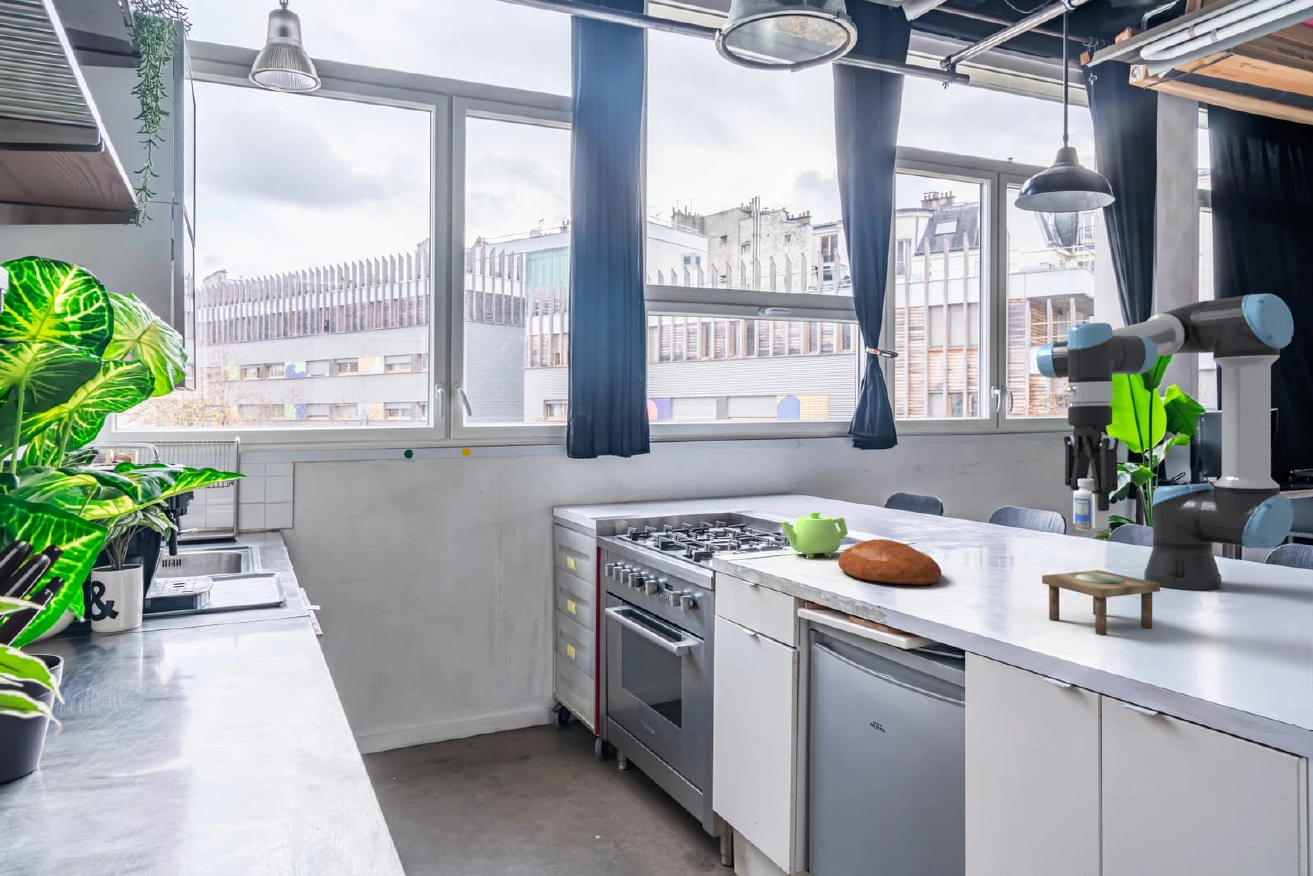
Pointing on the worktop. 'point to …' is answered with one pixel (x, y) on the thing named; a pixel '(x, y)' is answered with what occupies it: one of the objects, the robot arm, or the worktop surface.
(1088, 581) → the small wooden table
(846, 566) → the bread
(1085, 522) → the pill bottle
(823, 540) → the teapot
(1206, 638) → the worktop surface
